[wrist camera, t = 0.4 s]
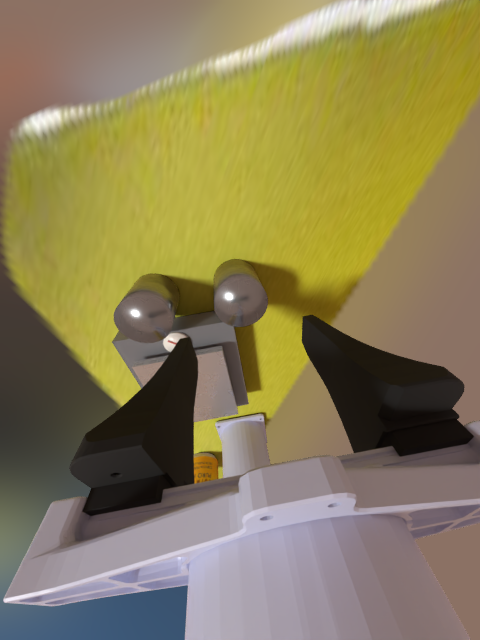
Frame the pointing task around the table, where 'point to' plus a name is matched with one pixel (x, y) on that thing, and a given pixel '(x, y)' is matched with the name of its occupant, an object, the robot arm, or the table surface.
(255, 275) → the steel weight
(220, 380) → the scale pan
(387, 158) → the table surface
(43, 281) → the table surface
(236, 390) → the scale base
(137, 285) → the cylinder
